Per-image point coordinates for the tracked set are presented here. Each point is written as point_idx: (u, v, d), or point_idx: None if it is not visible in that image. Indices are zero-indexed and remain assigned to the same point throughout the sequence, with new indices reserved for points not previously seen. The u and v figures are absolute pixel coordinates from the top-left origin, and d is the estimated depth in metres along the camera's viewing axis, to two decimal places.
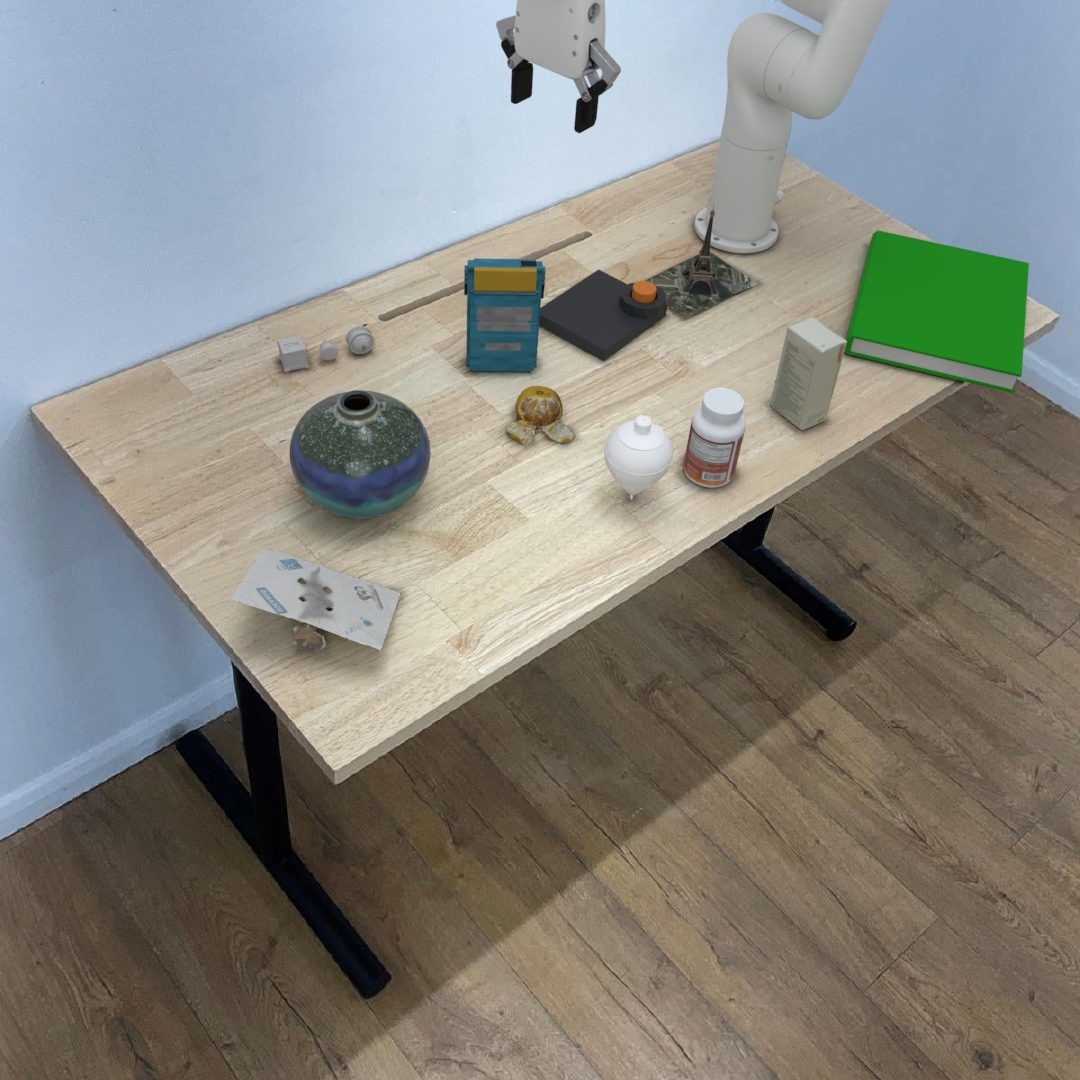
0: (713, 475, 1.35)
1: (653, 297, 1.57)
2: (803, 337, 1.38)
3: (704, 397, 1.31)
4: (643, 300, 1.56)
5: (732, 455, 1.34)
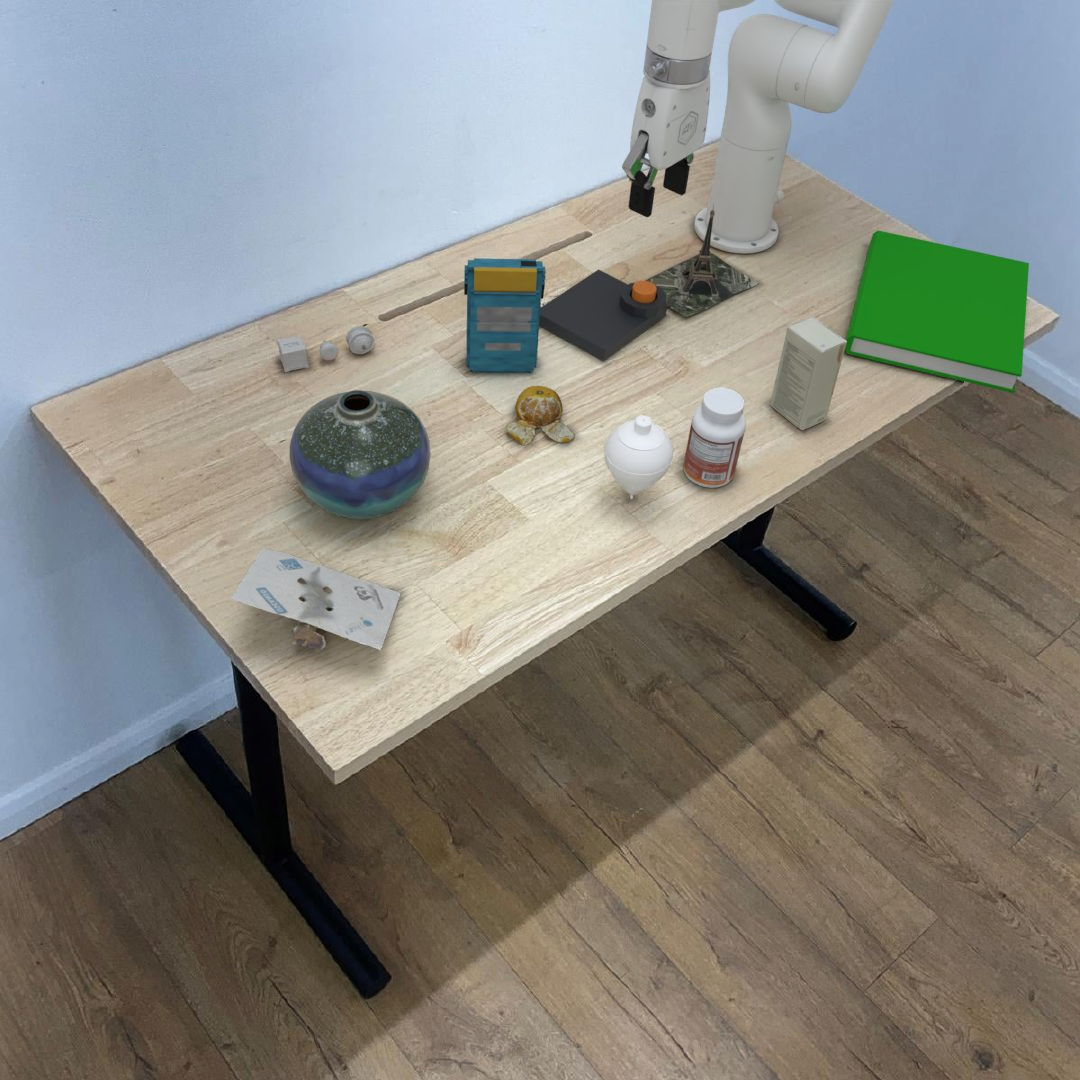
0: (713, 475, 1.35)
1: (653, 297, 1.57)
2: (803, 337, 1.38)
3: (704, 397, 1.31)
4: (643, 300, 1.56)
5: (732, 455, 1.34)
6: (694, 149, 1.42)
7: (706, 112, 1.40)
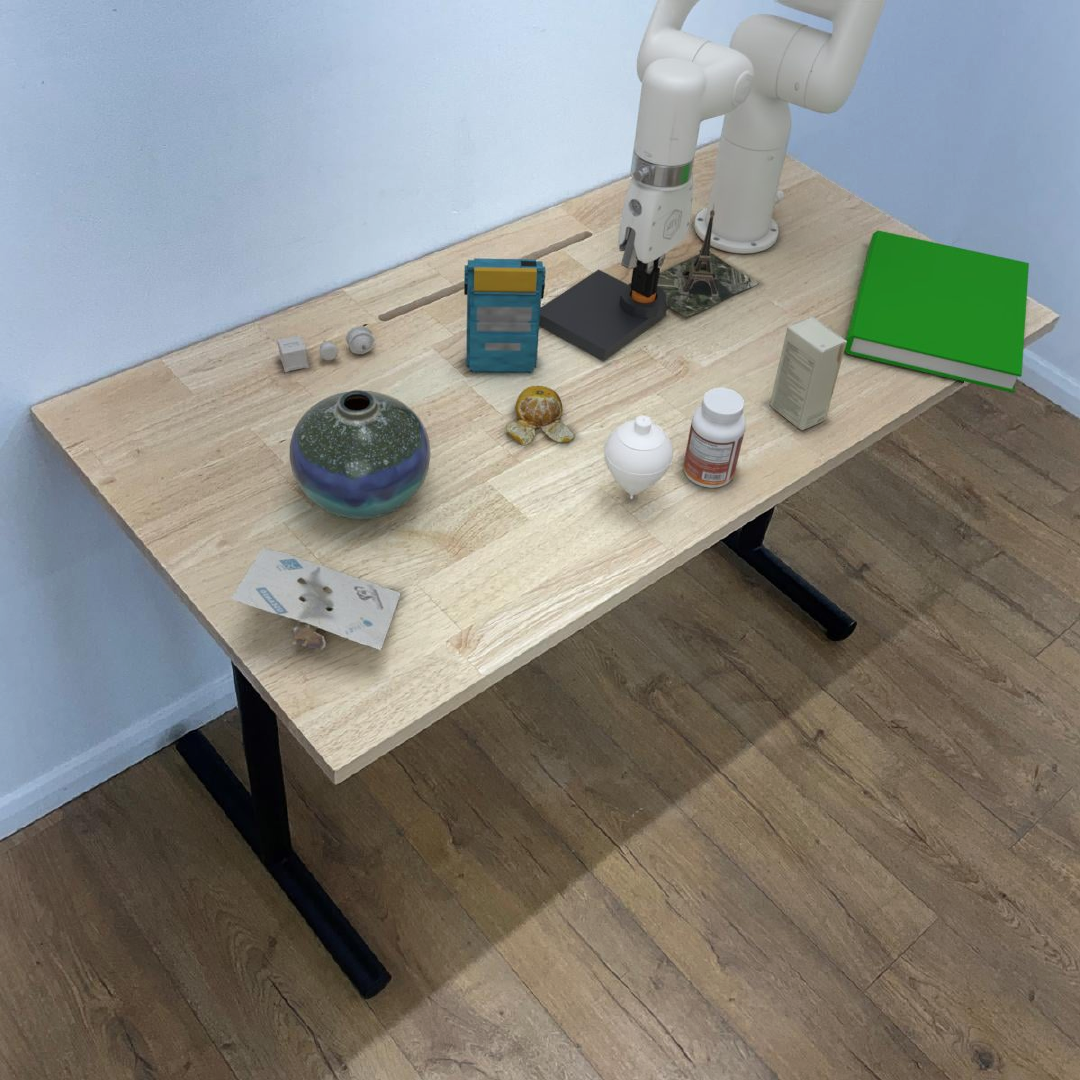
0: (713, 475, 1.35)
1: (653, 300, 1.57)
2: (803, 337, 1.38)
3: (704, 397, 1.31)
4: None
5: (732, 455, 1.34)
6: (678, 242, 1.51)
7: (689, 208, 1.49)
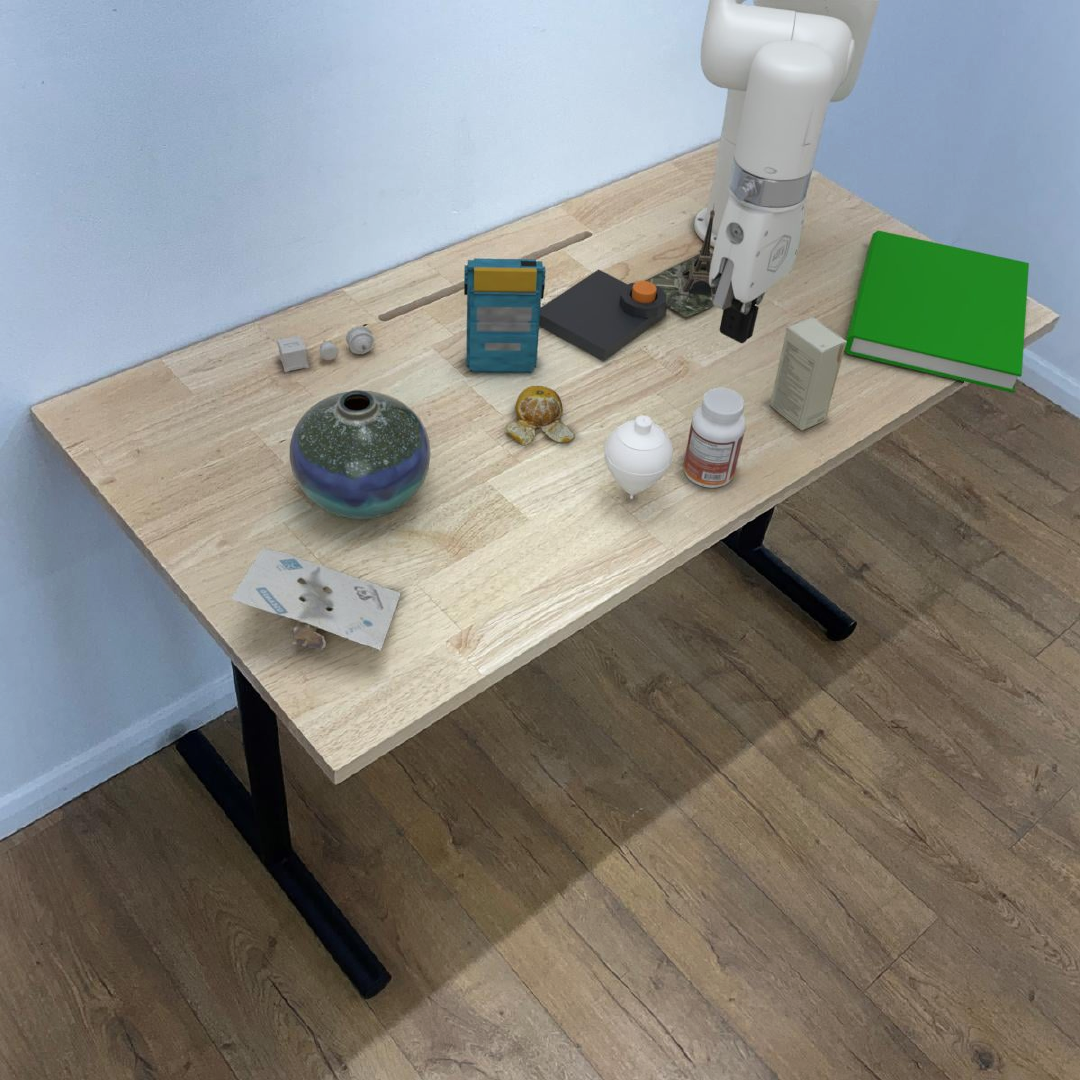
0: (713, 475, 1.35)
1: (653, 297, 1.57)
2: (803, 337, 1.38)
3: (704, 397, 1.31)
4: (643, 300, 1.56)
5: (732, 455, 1.34)
6: (783, 275, 1.20)
7: (799, 233, 1.18)
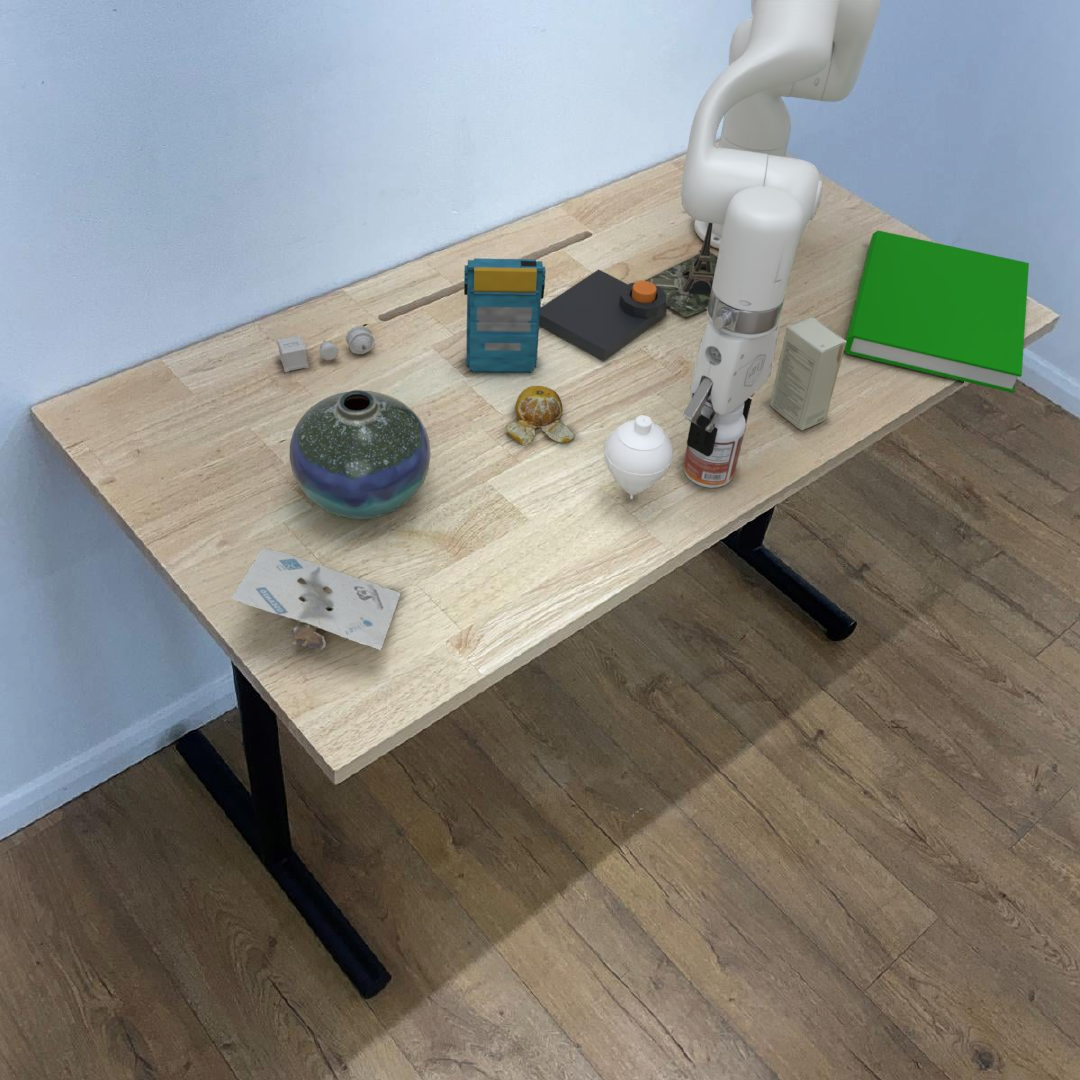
0: (713, 475, 1.35)
1: (653, 297, 1.57)
2: (802, 337, 1.38)
3: None
4: (643, 300, 1.56)
5: (732, 455, 1.34)
6: (759, 386, 1.30)
7: (773, 349, 1.28)
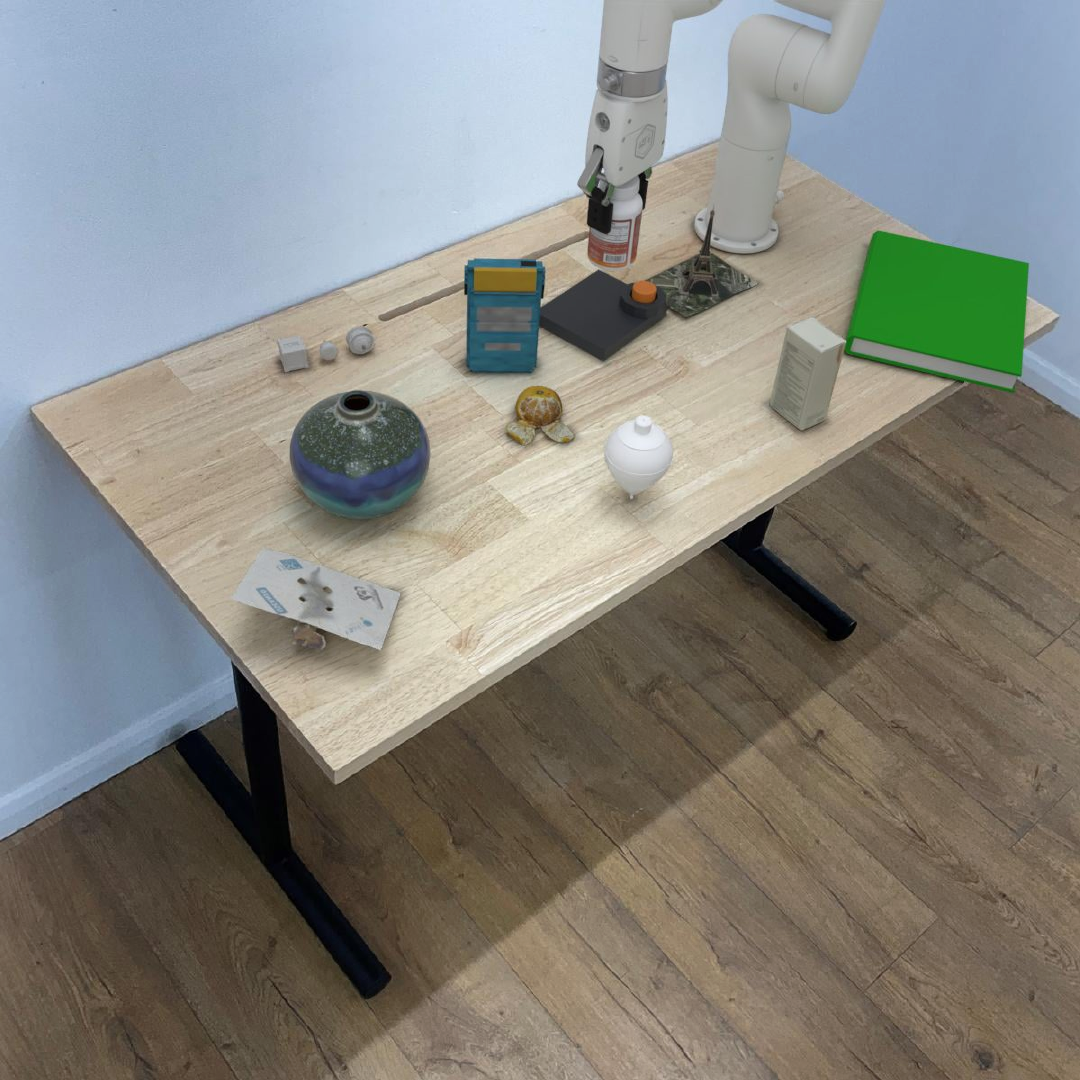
0: (614, 256, 1.42)
1: (653, 297, 1.57)
2: (802, 337, 1.38)
3: None
4: (643, 300, 1.56)
5: (631, 235, 1.40)
6: (653, 163, 1.36)
7: (664, 124, 1.34)
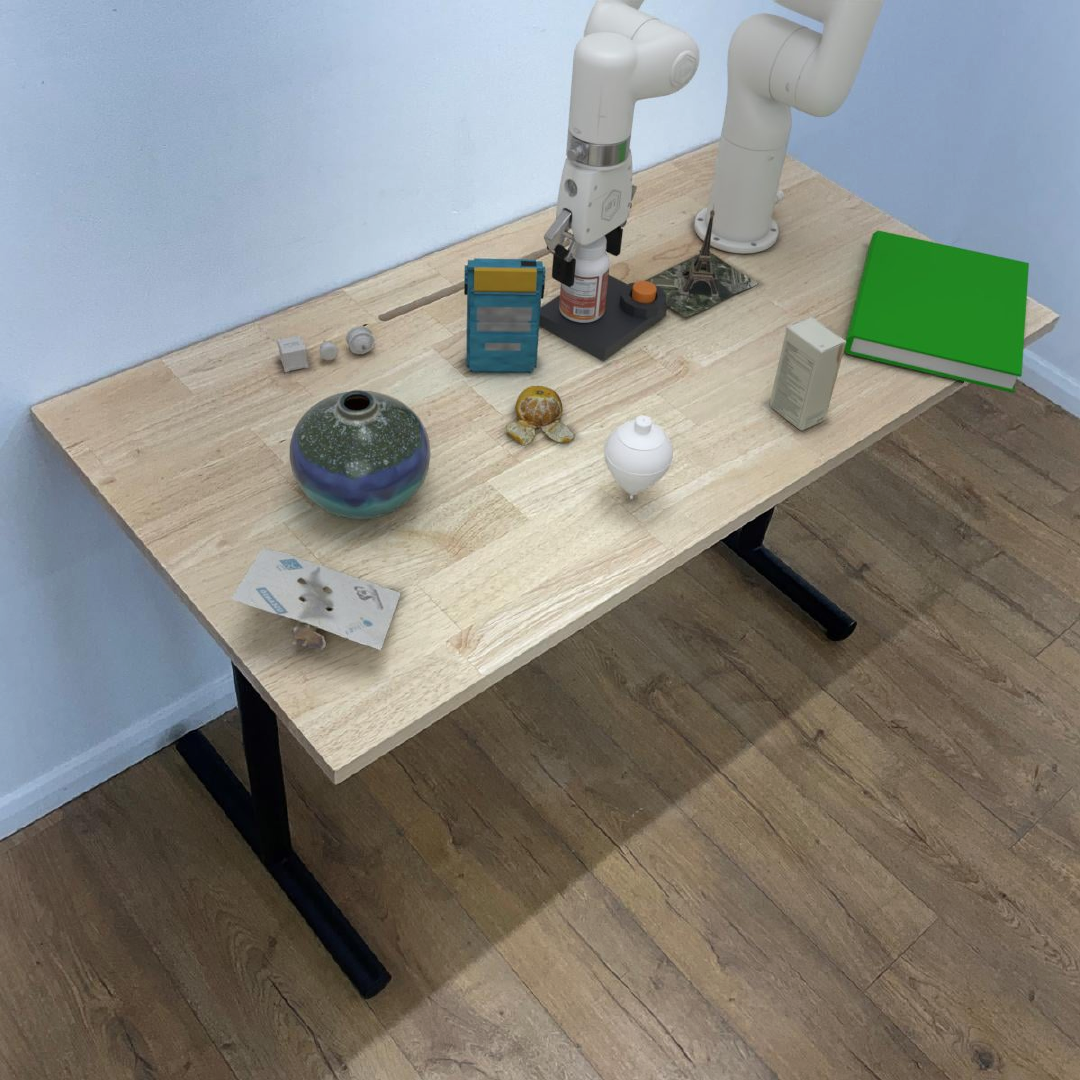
0: (583, 309, 1.53)
1: (653, 297, 1.57)
2: (802, 337, 1.38)
3: None
4: (643, 300, 1.56)
5: (598, 290, 1.51)
6: (619, 223, 1.47)
7: (629, 189, 1.45)
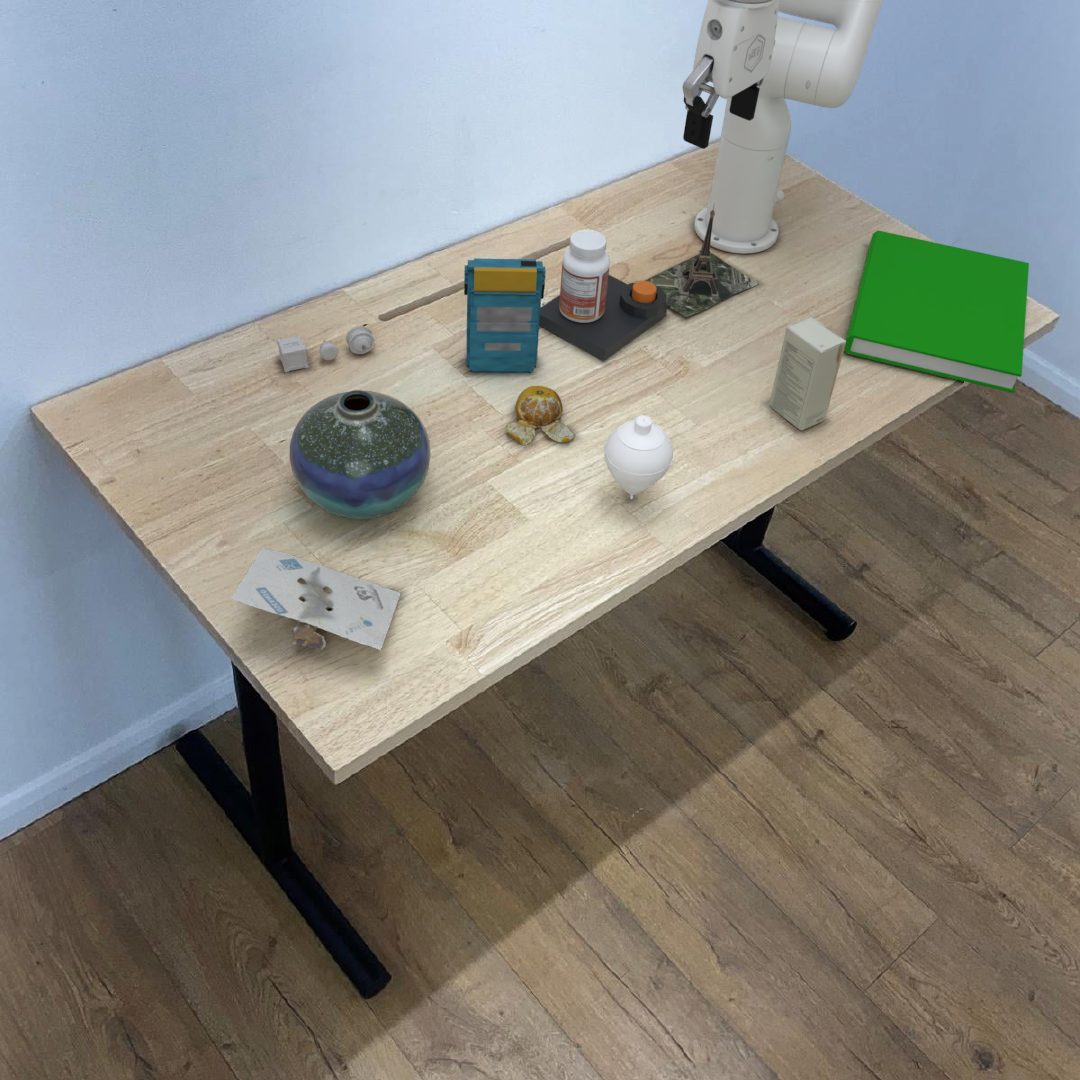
0: (583, 309, 1.53)
1: (653, 297, 1.57)
2: (802, 337, 1.38)
3: (571, 236, 1.49)
4: (643, 300, 1.56)
5: (598, 290, 1.51)
6: (759, 78, 1.34)
7: (773, 37, 1.32)
